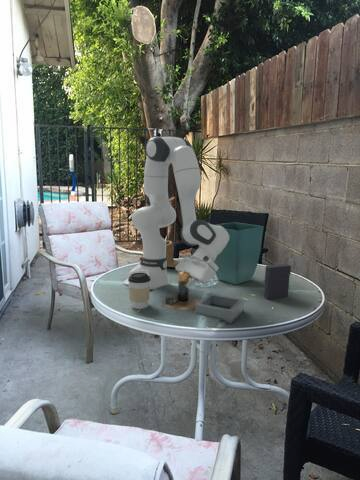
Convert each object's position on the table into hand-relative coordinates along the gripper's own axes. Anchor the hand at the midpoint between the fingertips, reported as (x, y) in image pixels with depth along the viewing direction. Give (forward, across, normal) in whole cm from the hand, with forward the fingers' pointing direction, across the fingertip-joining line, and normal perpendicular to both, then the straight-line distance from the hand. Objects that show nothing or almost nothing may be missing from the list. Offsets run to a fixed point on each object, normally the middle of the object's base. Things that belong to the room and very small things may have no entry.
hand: (182, 285), depth 170 cm
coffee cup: (+18, -7, -4) cm, 20 cm away
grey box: (-24, +12, +37) cm, 46 cm away
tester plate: (+6, 0, +7) cm, 10 cm away
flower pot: (-25, -19, +39) cm, 50 cm away
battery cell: (+4, 0, +5) cm, 7 cm away
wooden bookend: (-13, -58, +28) cm, 66 cm away
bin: (0, +14, +13) cm, 19 cm away
